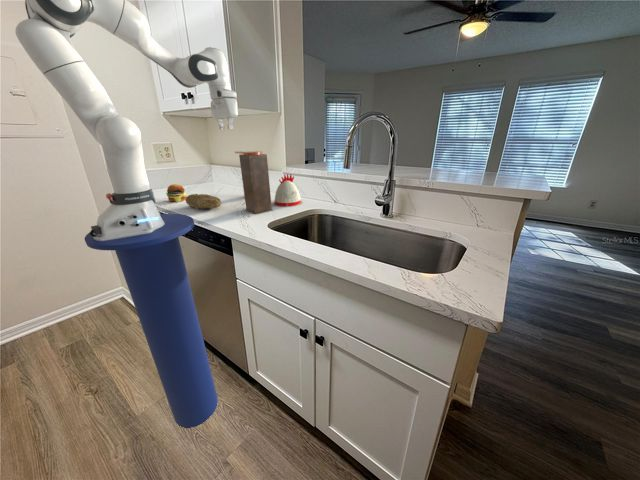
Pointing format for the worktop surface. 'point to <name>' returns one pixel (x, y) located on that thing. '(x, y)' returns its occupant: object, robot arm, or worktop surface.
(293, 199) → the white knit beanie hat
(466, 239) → the worktop surface
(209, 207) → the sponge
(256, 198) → the tall brown brick
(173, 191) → the cheeseburger
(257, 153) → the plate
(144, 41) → the robot arm
